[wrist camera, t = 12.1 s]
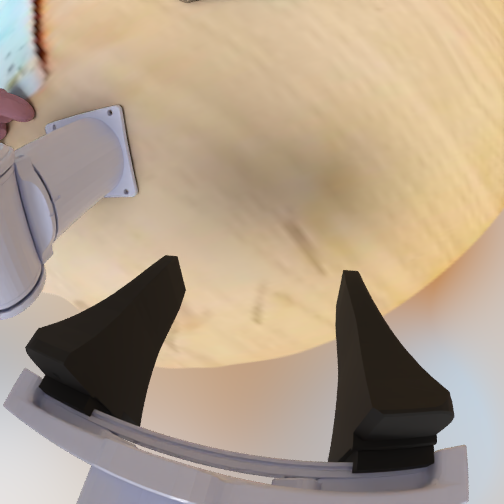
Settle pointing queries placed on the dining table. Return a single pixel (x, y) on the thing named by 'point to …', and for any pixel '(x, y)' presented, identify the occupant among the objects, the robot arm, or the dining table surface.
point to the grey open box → (188, 1)
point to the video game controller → (13, 110)
